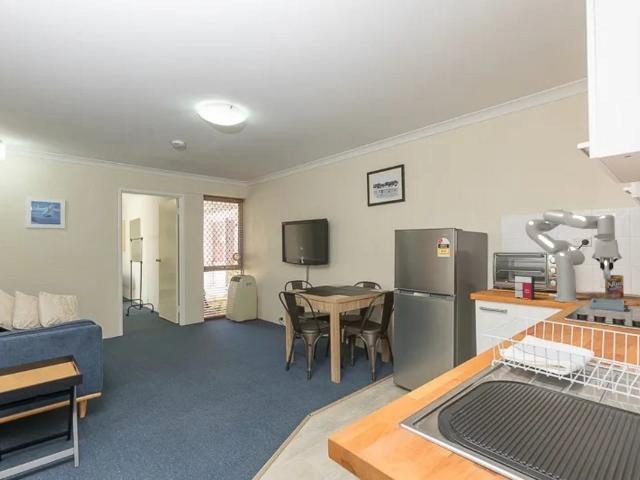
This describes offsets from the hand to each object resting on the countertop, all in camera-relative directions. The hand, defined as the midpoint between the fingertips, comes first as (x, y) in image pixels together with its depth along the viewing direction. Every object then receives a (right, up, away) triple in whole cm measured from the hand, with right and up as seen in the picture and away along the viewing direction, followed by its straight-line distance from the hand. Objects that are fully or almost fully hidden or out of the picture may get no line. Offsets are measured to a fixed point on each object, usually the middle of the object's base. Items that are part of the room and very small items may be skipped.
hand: (606, 269), depth 193 cm
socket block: (+13, -21, +15) cm, 29 cm away
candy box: (+31, -22, +31) cm, 49 cm away
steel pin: (0, -5, 0) cm, 5 cm away
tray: (0, -21, 0) cm, 21 cm away
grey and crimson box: (-27, -22, +33) cm, 48 cm away
